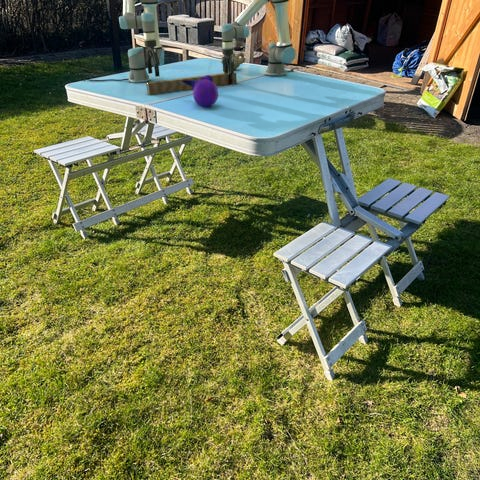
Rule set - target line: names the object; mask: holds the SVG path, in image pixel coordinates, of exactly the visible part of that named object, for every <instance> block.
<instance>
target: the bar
mask: <svg viewBox="0 0 480 480" xmlns="http://www.w3.org/2000/svg"><path fill="white" fill-rule="evenodd" d="M228 74H229V71H228V73H224V72H221V73H211V74H205V75H197V76H196V75H195V76H188V77H187V76H186V77H178V78H172V79H171V78H170V79H164V80H163V79H162V80H153V81H148V82H145V85H146V95H149V96H154V95H161V94H162V95H163V94H169V93H170V94H171V93H177V92H184V91H192V90H194V88H193V87H191V86H189V85H187V84H186V83H184V82H182V80H194V81H200V80H201V77H204V76H207V75H209V76H211V77H212V82H213V83H214V84H215V85H216V87H222V86H229V85H237V83H238V82H237V72H235V71H234V74H232V84H229V80H228Z"/></svg>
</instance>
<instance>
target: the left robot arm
mask: <svg viewBox="0 0 480 480" xmlns="http://www.w3.org/2000/svg"><path fill="white" fill-rule="evenodd" d="M159 2H160V0H122V15H120V16H119V17H118V21H119V28H120V29H122V30H140V29H141V30H142V35H143V40H144V41H143V44H144V47H145V48H144V47H143V46H138V47H132V48H130V49H128V50H127V56H128V64H129V65H128V66H129V76H128V78H122V79H121V78H120V79H115V78H108V79H90V78H85V79H83V82H86V81H89V82H110V81H114V82H122V81H128V82H129V83H133V84H141V83H146V82H150V74H153V67H154V77H156V78H157V77H160V66H163V65H165V48H163V45H162V44H161V41H160V33H159V23H158V21H159V20H158V13H157V12H158V11H157V7H158V6H159ZM136 3H140V4H141V6H142V7H143V12H141V15H136Z"/></svg>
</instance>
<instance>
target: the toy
mask: <svg viewBox="0 0 480 480" xmlns="http://www.w3.org/2000/svg"><path fill="white" fill-rule="evenodd" d="M206 75H207V76H204V77H201V80H200V81H194V80H182V82H184V83H186V84H187V85H189V86H191V87H193V88H194V89H193V91H192V95H193V100H194V102H195V104H196V105H198V106H199V107H202V108H210V107H212V106H213V105H215V104H216V102H217V101H218V99H219V90H218V86H216V85H215V84H214V83H213V82H212V77H211V76H209V75H210V74H206Z"/></svg>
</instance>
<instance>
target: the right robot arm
mask: <svg viewBox="0 0 480 480" xmlns="http://www.w3.org/2000/svg"><path fill="white" fill-rule="evenodd" d="M269 2H271V3H272V5H273V6H274V9H275V10H274V13H275V22H276V32H277V42H273V43H269V44H268V63H267V68H266V70H265V75H266V76H268V77H284V76H286V72H287V73H289V72H291V73H292V72H294V71H295V70H296V69H297V70H300V68H299V67H293V68H290V70H289V69H288V70H286V69H285V64H291V63H293V61H294V60H295V59H296V55H297V52H296V49H295V47H293V42H292V41H291V36H290V27H289V26H290V24H289V23H290V22H289V12H288V11H289V10H288V3H289V2H290V0H252V1H251V2H250V3H249V4H248V5H247V6H246V7H245V9H244V10H243V11H242V12H241V13H240V14H239V16H237V17H236V18H235V20H233V21H232V23H222V25H221V48H222V49H221V50H222V55H223V56H222V57H221V61H222V60H223V64H222V73H228V72H229V74H228V80H229V84H230V85H233V84H232V74H234V72H235V70H234V59H232V56H231V55H232V54H233V53H234V39H246V38H247V39H248V37H249V35H250V29H249V26H247V24H248V23H249V22H250V21H251V20H252V19H253V17H254V16H256V14H257V13H259V11H260V10H261V9H262V8H264V5H267V4H269Z"/></svg>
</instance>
